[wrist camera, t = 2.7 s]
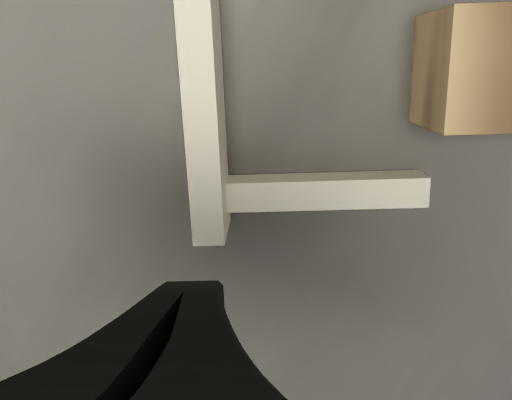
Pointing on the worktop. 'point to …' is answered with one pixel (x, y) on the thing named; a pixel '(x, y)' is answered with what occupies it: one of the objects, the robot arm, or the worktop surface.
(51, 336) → the worktop surface
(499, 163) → the worktop surface
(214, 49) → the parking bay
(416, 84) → the oak block
